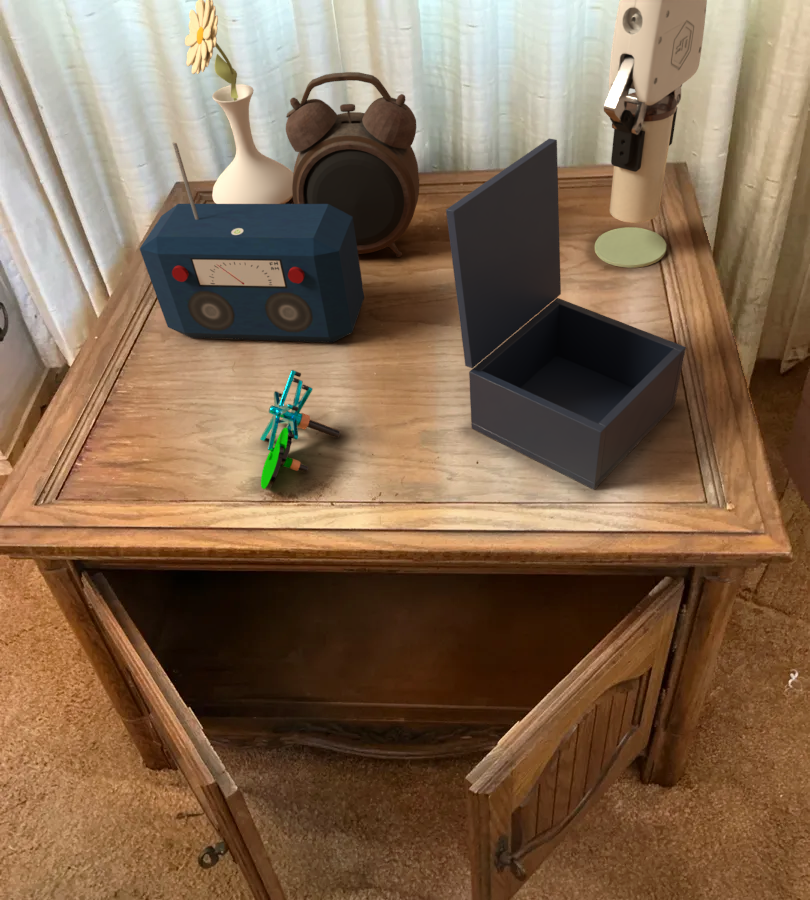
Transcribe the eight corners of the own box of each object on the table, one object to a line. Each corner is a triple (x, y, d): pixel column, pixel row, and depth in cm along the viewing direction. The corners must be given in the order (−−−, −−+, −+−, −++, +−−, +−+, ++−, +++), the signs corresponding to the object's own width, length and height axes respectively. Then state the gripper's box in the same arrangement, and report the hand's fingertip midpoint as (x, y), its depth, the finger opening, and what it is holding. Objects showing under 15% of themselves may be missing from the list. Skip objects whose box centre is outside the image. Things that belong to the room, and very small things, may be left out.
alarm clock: (302, 271, 101) (266, 95, 86) (310, 238, 105) (277, 66, 90) (424, 265, 99) (409, 85, 84) (427, 232, 104) (413, 56, 89)
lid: (557, 139, 70) (549, 138, 71) (453, 211, 64) (445, 209, 65) (561, 294, 81) (554, 292, 81) (472, 368, 74) (465, 366, 75)
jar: (660, 197, 95) (676, 90, 87) (661, 224, 92) (678, 115, 83) (608, 196, 96) (618, 91, 88) (606, 223, 93) (617, 116, 84)
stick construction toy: (264, 390, 83) (292, 352, 76) (329, 414, 86) (362, 380, 79) (239, 499, 78) (268, 469, 72) (309, 522, 81) (342, 494, 75)
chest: (674, 405, 80) (686, 346, 75) (594, 490, 74) (601, 432, 69) (554, 355, 86) (557, 297, 81) (471, 428, 80) (468, 371, 75)
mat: (665, 230, 99) (665, 227, 99) (666, 268, 94) (667, 265, 94) (595, 229, 101) (596, 226, 100) (593, 267, 96) (593, 264, 95)
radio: (167, 345, 93) (101, 167, 78) (192, 298, 99) (136, 124, 84) (351, 351, 90) (319, 166, 75) (367, 303, 95) (341, 121, 80)
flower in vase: (217, 186, 116) (161, -23, 98) (299, 175, 116) (259, -36, 98) (213, 235, 108) (150, 17, 89) (301, 223, 108) (258, 2, 89)
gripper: (653, -9, 70) (628, 200, 84) (751, -69, 78) (714, 131, 91) (576, -22, 74) (565, 180, 87) (677, -78, 81) (652, 116, 95)
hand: (641, 153), depth 89 cm, fingers closed on jar, 5 cm apart
